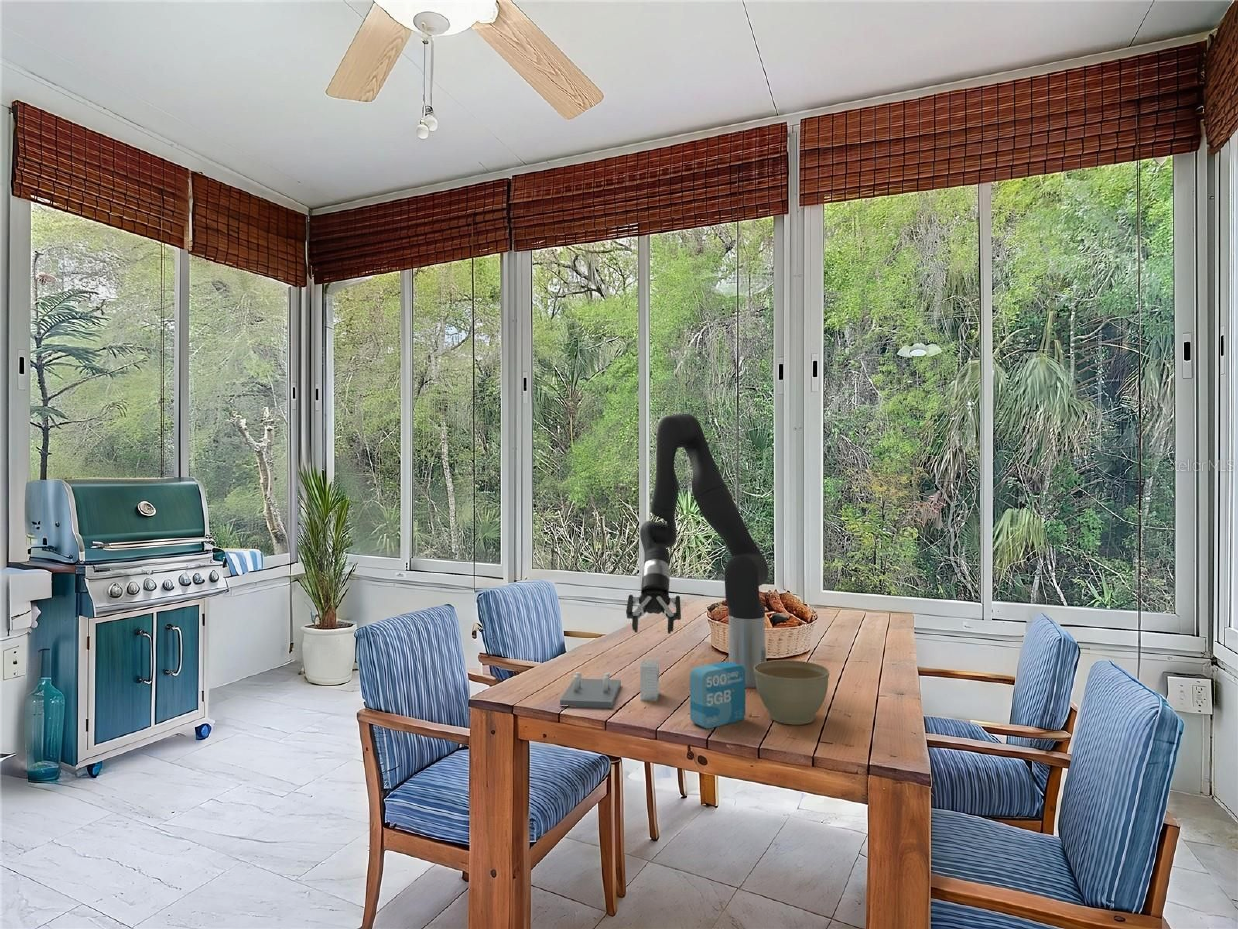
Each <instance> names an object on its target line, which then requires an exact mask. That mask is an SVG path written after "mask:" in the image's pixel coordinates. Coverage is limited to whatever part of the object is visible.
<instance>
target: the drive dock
mask: <svg viewBox="0 0 1238 929" xmlns="http://www.w3.org/2000/svg"><path fill="white" fill-rule="evenodd" d="M621 683H622V680H621V679H611V673H609V672H607V673H606V672H605V673H604V676H603V677H602V678H582V672H580V671H577V672H575V675H573V680H572V681H571V683H570V684H569V686H568V687H567V689H566V690H565V692H563V693H564V694H562V696H561V698H560V700H559V706H560V705H568V706H576V707H575V708H581V707H590V708H589V709H608V708H612V709H613V706H614V704H615V701H616V699H615V698H617V696H618V694H619V692H618V691H620V688H621V686H622V684H621ZM592 707H593V708H592Z"/></svg>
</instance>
